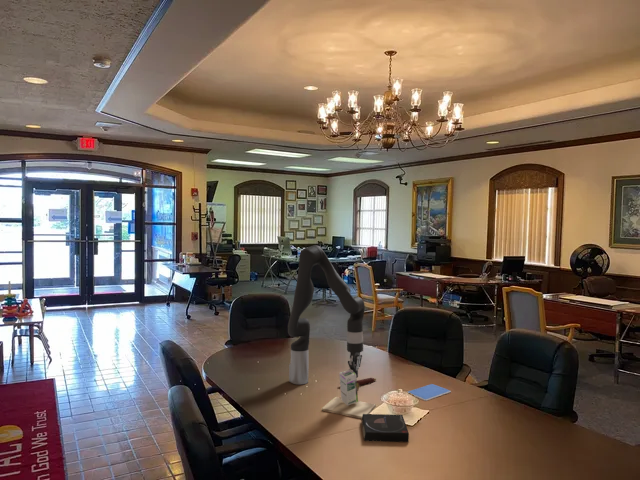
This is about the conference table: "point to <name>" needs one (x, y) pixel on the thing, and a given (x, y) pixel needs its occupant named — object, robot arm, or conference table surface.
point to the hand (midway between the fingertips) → (355, 377)
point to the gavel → (364, 382)
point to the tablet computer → (429, 392)
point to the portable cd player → (384, 428)
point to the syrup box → (348, 387)
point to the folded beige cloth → (348, 408)
